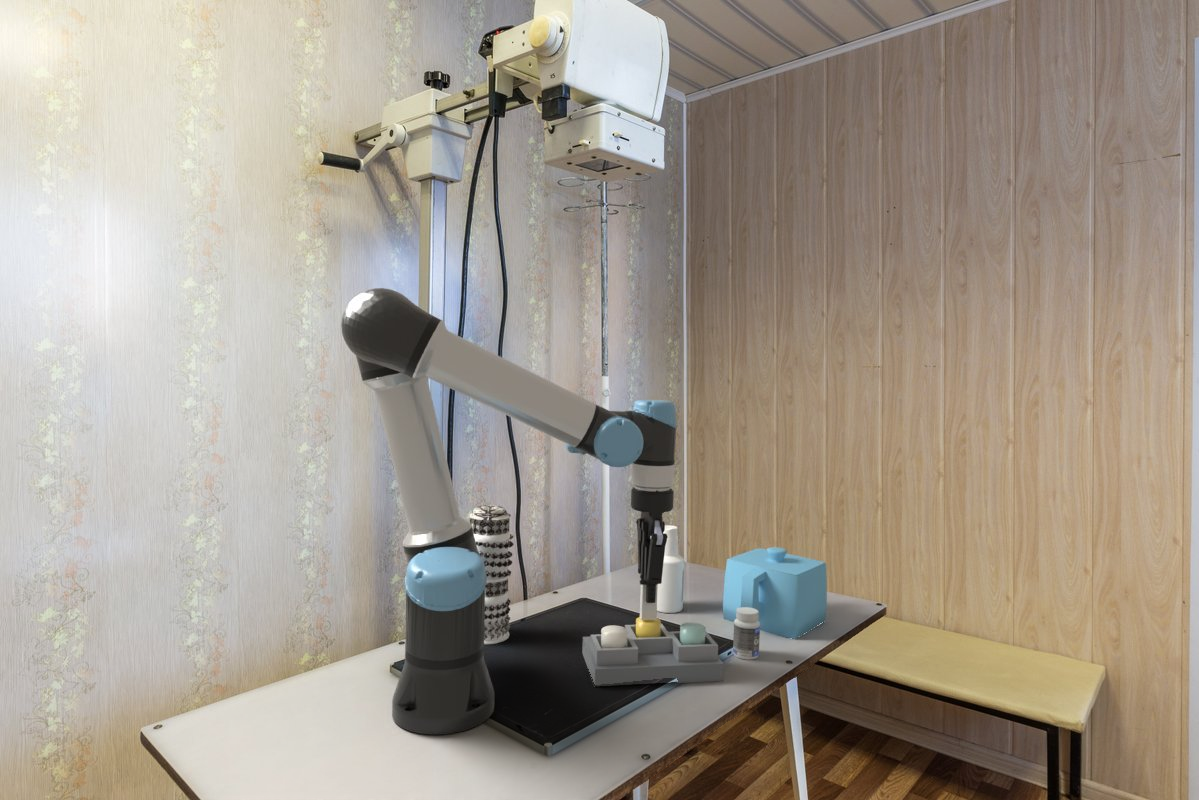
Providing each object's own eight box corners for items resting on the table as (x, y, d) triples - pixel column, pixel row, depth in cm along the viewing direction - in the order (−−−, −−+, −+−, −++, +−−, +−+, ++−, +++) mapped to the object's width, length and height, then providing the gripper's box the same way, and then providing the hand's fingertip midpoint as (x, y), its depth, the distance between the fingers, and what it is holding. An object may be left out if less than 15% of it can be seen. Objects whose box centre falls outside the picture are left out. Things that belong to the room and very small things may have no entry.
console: (594, 687, 117) (595, 654, 117) (582, 652, 131) (583, 623, 131) (722, 680, 121) (724, 648, 121) (697, 648, 135) (698, 619, 135)
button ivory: (603, 658, 120) (603, 635, 120) (598, 648, 125) (599, 625, 125) (628, 657, 121) (629, 634, 121) (623, 647, 125) (624, 624, 125)
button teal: (683, 655, 123) (684, 632, 123) (676, 645, 127) (677, 623, 127) (708, 654, 124) (709, 631, 123) (700, 644, 128) (701, 622, 128)
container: (709, 624, 148) (711, 550, 147) (768, 597, 167) (771, 531, 166) (784, 647, 137) (788, 568, 136) (839, 615, 156) (842, 545, 155)
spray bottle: (687, 607, 158) (690, 526, 157) (674, 616, 152) (676, 532, 151) (660, 601, 161) (663, 522, 160) (645, 609, 156) (648, 527, 155)
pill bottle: (759, 661, 130) (760, 615, 129) (732, 658, 131) (734, 613, 130) (758, 651, 134) (760, 607, 134) (733, 648, 135) (734, 605, 135)
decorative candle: (521, 634, 139) (524, 507, 138) (487, 649, 132) (490, 514, 131) (487, 623, 145) (490, 500, 143) (453, 636, 137) (455, 507, 136)
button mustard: (638, 647, 126) (639, 625, 125) (633, 638, 130) (633, 616, 130) (662, 646, 126) (663, 624, 126) (656, 637, 131) (657, 615, 130)
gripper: (683, 494, 121) (678, 631, 122) (663, 481, 134) (659, 605, 135) (640, 494, 120) (635, 632, 121) (624, 481, 132) (620, 606, 134)
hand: (648, 618), depth 128 cm, fingers closed
